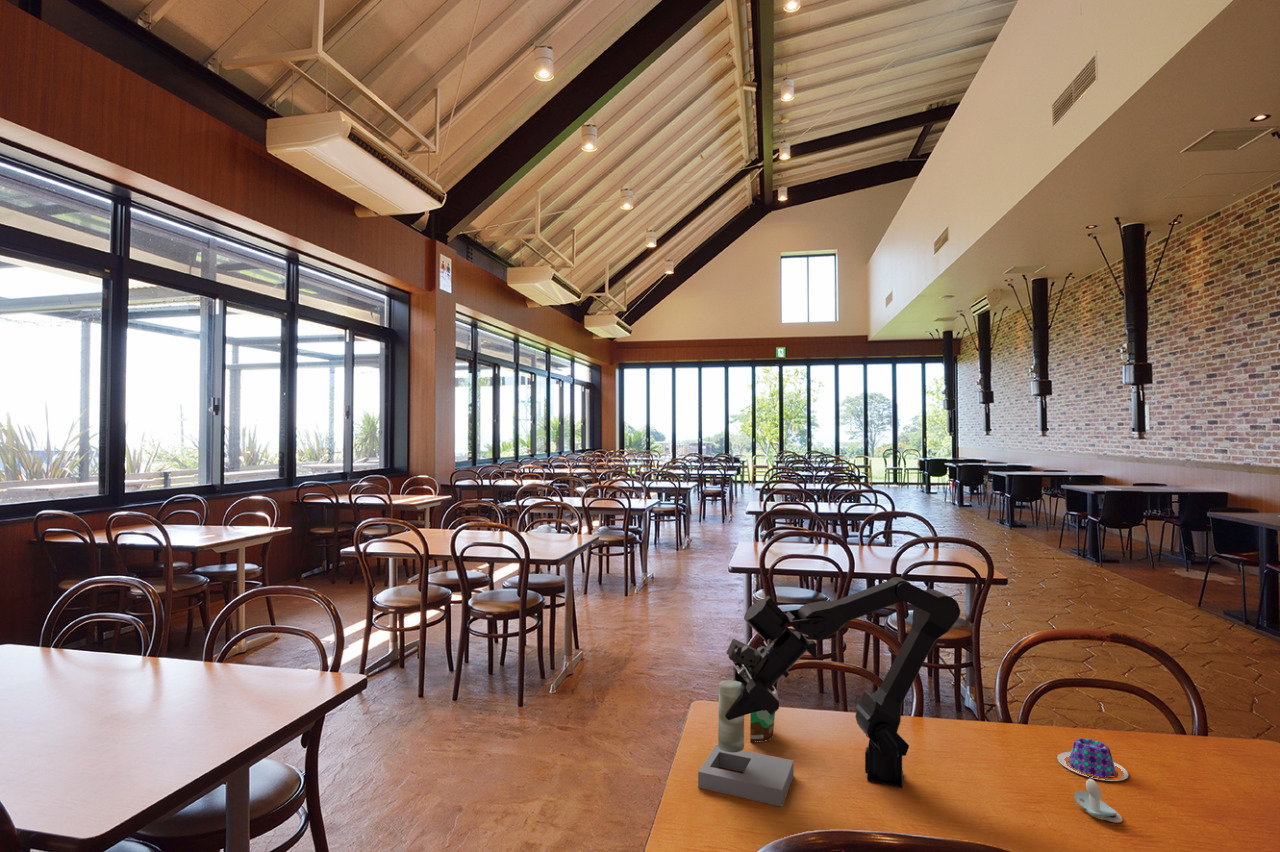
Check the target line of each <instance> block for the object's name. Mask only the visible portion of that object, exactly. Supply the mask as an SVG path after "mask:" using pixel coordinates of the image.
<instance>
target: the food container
mask: <svg viewBox="0 0 1280 852" xmlns="http://www.w3.org/2000/svg"><path fill="white" fill-rule="evenodd" d="M773 687H774V689H775V690H774V691H773V693H774V694H775V696H776V698H777V699H778V701H779V699H780V698H779V694H778V691H777V689H776V687H775V686H774V685H773ZM779 702H780V701H779ZM775 715H776V712H775V713H774V714H773V715H770V714H769V713H768V712H767V711H766V710H765V711H763V710H762V711H758V712H754V713H750V714H749V718H750V721H749V722H750V725H749V726H750V727H749V729H750V730H749V731H750V734H749V735H750V736H749V738H750V739H749V740H750V743H760V742H759V741H764V742H766V741H765V740H768V741H770V740H771V739H770V738H772V739H773V737H772V736H774V729H775ZM769 739H770V740H769ZM755 741H756V742H755ZM757 741H758V742H757Z"/></svg>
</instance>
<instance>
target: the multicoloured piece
mask: <svg viewBox="0 0 1280 852" xmlns="http://www.w3.org/2000/svg"><path fill="white" fill-rule="evenodd" d="M1069 756H1070V758H1069V762H1068V764H1069V766H1070V767H1071V766H1072V767H1073V769H1074V768H1075V770H1076V769H1079V770H1080V771H1081V772H1083V773H1086V774H1093V775H1096V776H1099V777H1105V776H1115V777H1116V774H1117V772H1116V770H1115V766H1117V767H1118V768H1120V769H1121V771H1123V773H1124V774H1123V775H1124V776H1122V778H1120V779H1115V780H1105V779H1106V778H1105V779H1098V778H1099V777H1097V778H1093V777H1094V776H1093V775H1092V777H1089V776H1090V775H1089V776H1087V775H1084V774H1081V772H1080V771H1079V770H1076V771H1075V770H1073V769H1072V768H1070V767H1069V766H1067V764H1066V761H1065V760H1064V759H1065V758H1066V757H1069ZM1057 761H1058V762H1059V763H1060V764H1061V765H1062V766H1063V767H1065V768H1067V770H1069V771H1072V772H1074V773H1076V774H1078V775H1082V776H1083V777H1084V776H1085V777H1087V778H1089V779H1093V780H1094V779H1096V780H1100V781H1108V782H1118V781H1124V780H1126V779H1128V778H1129V771H1127V769H1125V768H1124V767H1123V766H1122V765H1120V764H1118V763H1117V762H1115V761H1114V759H1113V755H1112V753H1111V749H1110V747H1108V746H1107V745H1106V744H1104V743H1103V742H1102V741H1099V740H1095V739H1092V738H1084V737H1080V738H1077V739H1075V740H1074V742H1073V745H1072V749H1071V751H1066V752H1065V751H1064V752H1061V753H1059V754H1058V755H1057ZM1070 763H1071V764H1070ZM1077 771H1078V772H1077ZM1079 772H1080V773H1079ZM1115 773H1116V774H1115Z"/></svg>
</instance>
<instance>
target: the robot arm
mask: <svg viewBox="0 0 1280 852" xmlns="http://www.w3.org/2000/svg"><path fill="white" fill-rule="evenodd" d="M901 602H906V603H908V604H909V605H912V606H914V607H913V610H912V624H911V628H910V630H909V632H908V634H907V635H906V638H905V640H904V641H903V644H902V646H901V647H900V649H899V651H898V652H897V654H896V656H895V658H894V660H893V662H892V663H891V666H890V667H889V669H888V671H887V672H886V675H885V676H884V679H883V681H882V683H881V685H880V686H879V688H878V689H877V690H876V691H874V692H873V693H870V692H868V691H867V690H864V691H863V693H862V696H861V699H860V700H859V702H858V704H856V705H855V706H854V708H855V709H856V711H855V719H856V720H855V721H856V724H857V725H858V727H859V728H860V729H861V731H862V732H863V733H864V734H865V736H866V737H867V738H868V746H866V748H865V751H864V756H865V757H864V773H865V774H866V775H867V776H866V780H867V781H868V782H871V783H872V782H873V783H877V784H882V785H887V786H891V787H897V788H903V786H904V784H903V783H904V770H903V757H905V756H907V753H908V751H909V748H910V745H909V743H908V742H906V740H904V738H903V737H902V736H901V735H900V734H899V733H898V731H899V727H900V725H901V719H902V706H903V702H904V700H905V699H906V697H907V695H908V692H909V691H910V689H911V687H912V686H913V684H914V682H915V680H916V678H917V676H918V674H919V672H920V670H921V669H922V666H923V664H924V663H925V660H926V659H927V657H928V656H929V653H930V652H931V650H932V647H933V646H934V644H935V643H936V642H937V640H938V639H940V638H941V637H942V636H944V635H945V634H947V633H949V631H950V630H951V629H952V627H953V626H954V625H955V624H956V623H957V622H958V620H959V618H960V616H961V609H960V605H959V603H958V602H957V600H956V599H955V598H953V597H952V596H950V595H947V594H945V593H944V592H941V591H939V590H937V589H934V588H933V589H932V588H928V589H926V590H925V589H922V588H920V587H919V586H916V585H913V584H911V583H910V582H909V581H907V580H905V579H903V578H901V577H897V576H895V577H892V578H890V579H888V580H886V581H884V582H881V583H879V584H876V585H873V586H871V587H868V588H866V589H863V590H861V591H858V592H855V593H852V594H849V595H847V596H844V597H842V598H838V599H834V600H820V601H815V602H809V603H808V602H807V603H804V604H803V605H801V606H800V607H799V608H797V609H789V610H782V609H781V608H780V607H779V606H778V605H777V603H776V602H775V601H774V600H773V599H772V598H771V596H769V595H766V596H765V597H764V598H762V599H760V600H758V601H756V602H755V603H752V605H751V606H750V607H749V608H748V609H747V610H746V612H745V613H744V616H743V620H744V621H745V622H746V623H747V624H748V625H749V626H750V627H751V628H752V629H753V630H754V631H755V632H756V634H758V635H759V636H760V637H761V638H762V639H763V640H765V641H768V640H770V641H771V643H769V644H768V645H767V647H766V646H764V645H763V646H760V647H758V649H756V648H754V647H753V646H750V645H748V644H746V643H744V642H742V641H740V640H738V639H735V638H732V640H731V642H730V644H729V646H728V647H727V651H726V652H725V653H726V655H728V659H729V660H730V661H732V662H733V664H734V666H733V667H732V671H733V672H732V673H733V679H732V680H733V681H738V682H741V694H740V696H739V697H738V698H737V700H736V701H735V702H734V704H733V705H732V706H731V707H730V709H729V710H728V712H727V713H726V715H725V717H726V718H727V719H728V720H731V719H734V718H738V717H741V716H744V717H745V716H746V715H750V713H754V712H758V711H762V710H763V711H765V710H766V711H767V712H768V713H769V714H770V715H773V714H774V713H775V714H776V712H778V710H779V709H780V701H778V699H779V698H778V699H777V698H776V696H775V694H774V693H773V691H774V690H775V689H776V688H775V689H774V687H775V686H774V685H775V684H776V683H777V682H778V681H779V680H780V679H781V678H782V677H785V678H788V677H789V676H790V673H789V670H790V669H791V668H792V667H793V666H794V664H796V663H797V661H799V660H800V659H801V658H802V657H803V655H805V654H806V652H808V653H809V655H811V657H812V658H814V659H817V657H818V654H817V647H818V644H817V642H816V641H821V640H822V641H824V640H825V639H827V638H829V637H830V636H832V635H834V634H835V633H837V632H838V631H840V630H841V629H842V628H843V626H844V625H846V624H847V623H849V622H851V621H854V620H855V619H858V618H861V617H864V616H866V615H870V614H872V613H874V612H877V611H880V610H882V609H885V608H888V607H890V606H893V605H896V604H898V603H901ZM788 625H790V626H791V627H792V628H793V630H794V631H792V630H791V628H789V626H788ZM804 634H806V636H808V637H809V638H810V639H812V640H809V639H808V638H806V636H804ZM735 666H737V668H736V667H735ZM773 686H774V687H773Z"/></svg>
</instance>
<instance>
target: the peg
mask: <svg viewBox="0 0 1280 852" xmlns="http://www.w3.org/2000/svg"><path fill="white" fill-rule="evenodd" d="M733 680H734V679H732V680H730V679H729V680H728V679H726V680H722V681H720V682H719V683H718V714H717V715H718V716H717V717H718V722H717V724H718V727H717V728H718V733H717V734H718V735H717V736H718V737H717V738H718V739H717V740H718V741H717V743H718V744H717V745H718V747H719V748H720V749H721V750H723V751H726V752H739V751H742V750H744V749H745V715H744V716H741V717H738V718H734V719H731V720H728V719H727V718H726V717H725V715H726V713H727V712H728V710H729V709H730V707H731V706H732V705H733V704H734V702H735V701H736V700H737V698H738V697H739V696H740V694H741V682H738V681H733Z"/></svg>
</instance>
